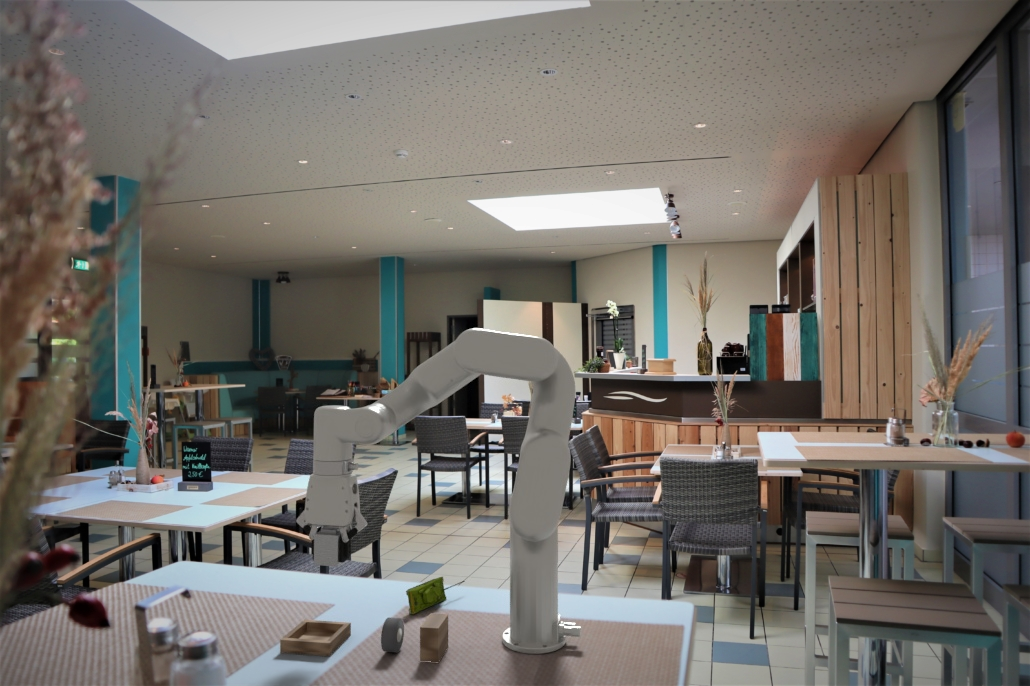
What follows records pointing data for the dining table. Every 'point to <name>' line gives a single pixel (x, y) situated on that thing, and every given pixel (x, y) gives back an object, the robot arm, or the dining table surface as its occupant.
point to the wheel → (392, 634)
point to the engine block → (327, 546)
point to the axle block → (434, 637)
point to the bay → (315, 638)
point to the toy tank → (426, 595)
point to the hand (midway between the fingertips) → (331, 558)
